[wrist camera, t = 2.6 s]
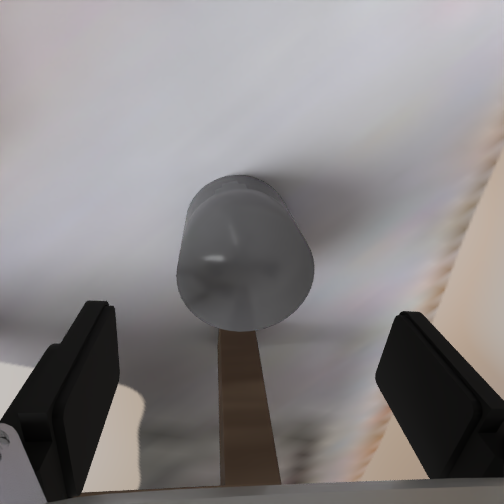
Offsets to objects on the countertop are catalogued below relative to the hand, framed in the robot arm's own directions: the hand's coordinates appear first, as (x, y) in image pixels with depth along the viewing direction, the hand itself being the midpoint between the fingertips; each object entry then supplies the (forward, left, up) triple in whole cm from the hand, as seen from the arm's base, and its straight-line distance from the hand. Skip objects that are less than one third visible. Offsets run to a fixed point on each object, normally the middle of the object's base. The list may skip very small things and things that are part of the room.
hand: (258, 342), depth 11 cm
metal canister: (-1, 0, -7) cm, 7 cm away
